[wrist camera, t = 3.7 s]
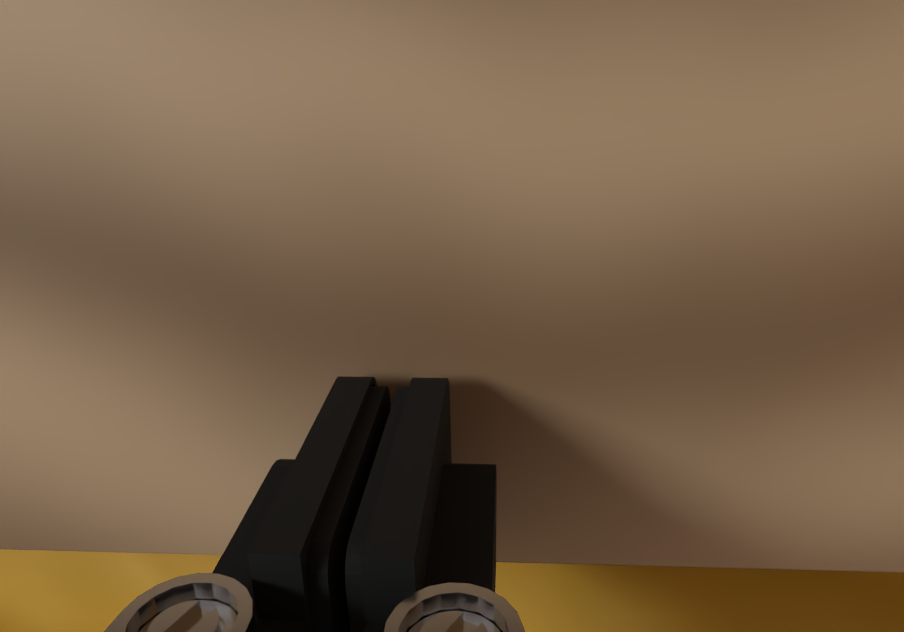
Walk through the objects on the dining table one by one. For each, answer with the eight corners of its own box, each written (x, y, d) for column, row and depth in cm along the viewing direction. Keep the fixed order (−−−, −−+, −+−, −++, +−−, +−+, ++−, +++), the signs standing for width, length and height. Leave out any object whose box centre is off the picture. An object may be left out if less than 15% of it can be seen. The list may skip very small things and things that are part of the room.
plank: (-310, -30, 11) (-407, -48, 10) (1213, -90, 9) (1314, -121, 8) (-164, 507, 13) (-228, 543, 12) (1069, 533, 12) (1131, 578, 11)
